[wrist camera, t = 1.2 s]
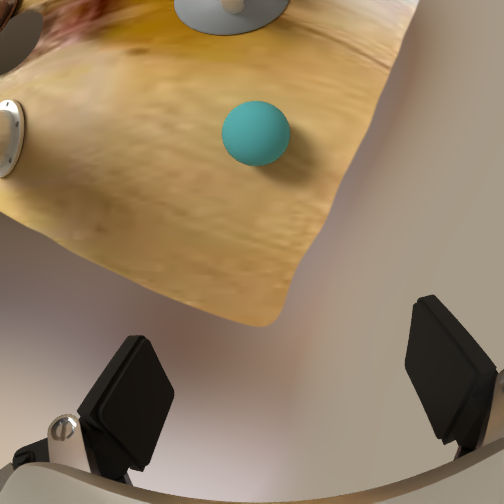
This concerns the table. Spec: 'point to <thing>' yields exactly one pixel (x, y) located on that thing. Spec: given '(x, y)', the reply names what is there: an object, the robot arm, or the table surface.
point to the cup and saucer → (6, 11)
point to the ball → (256, 133)
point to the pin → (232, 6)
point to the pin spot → (227, 15)
